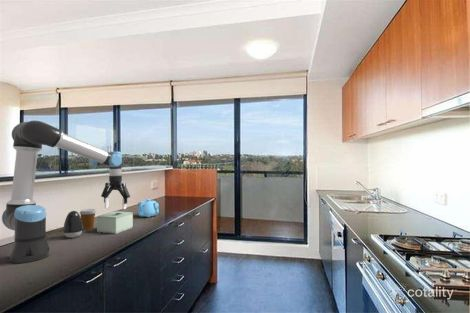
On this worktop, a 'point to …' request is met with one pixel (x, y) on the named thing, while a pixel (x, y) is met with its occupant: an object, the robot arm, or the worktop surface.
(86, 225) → the disposable coffee cup
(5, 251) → the worktop surface
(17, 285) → the worktop surface
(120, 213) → the money box
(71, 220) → the black dome on base
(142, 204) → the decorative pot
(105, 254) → the worktop surface
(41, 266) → the worktop surface
